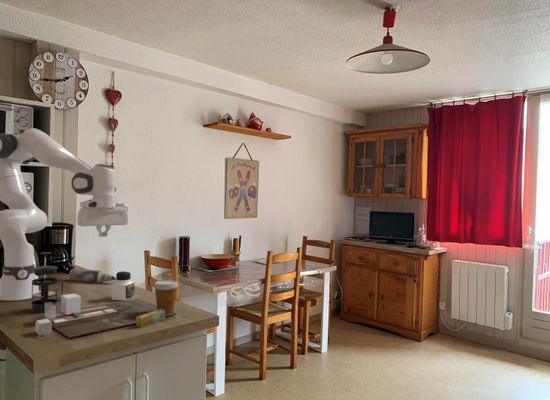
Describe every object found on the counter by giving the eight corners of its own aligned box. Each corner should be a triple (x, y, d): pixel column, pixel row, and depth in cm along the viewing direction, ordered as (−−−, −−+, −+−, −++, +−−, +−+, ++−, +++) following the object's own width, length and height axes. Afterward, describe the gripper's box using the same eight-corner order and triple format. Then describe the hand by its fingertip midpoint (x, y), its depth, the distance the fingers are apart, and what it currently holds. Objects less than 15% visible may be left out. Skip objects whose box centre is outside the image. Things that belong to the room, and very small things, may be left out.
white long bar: (44, 316, 152) (44, 302, 152) (102, 306, 166) (102, 294, 166) (49, 320, 147) (50, 306, 147) (108, 309, 162) (108, 297, 162)
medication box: (161, 319, 158) (161, 308, 158) (166, 320, 157) (166, 309, 157) (135, 327, 148) (135, 316, 148) (140, 328, 147) (140, 317, 147)
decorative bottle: (67, 281, 216) (67, 269, 216) (77, 279, 223) (78, 267, 223) (110, 285, 210) (110, 272, 210) (119, 283, 217) (119, 270, 217)
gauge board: (42, 319, 153) (43, 314, 153) (104, 308, 169) (104, 303, 169) (54, 327, 144) (54, 322, 144) (118, 315, 160) (118, 310, 160)
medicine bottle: (125, 301, 181) (126, 273, 181) (111, 299, 183) (111, 272, 183) (134, 297, 188) (135, 271, 188) (120, 296, 190) (120, 270, 190)
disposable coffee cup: (164, 316, 161) (165, 285, 160) (148, 312, 166) (148, 282, 165) (182, 311, 169) (183, 281, 168) (165, 307, 174) (166, 278, 174)
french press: (29, 314, 158) (30, 254, 158) (27, 308, 166) (29, 251, 165) (63, 310, 164) (64, 253, 164) (60, 305, 172) (61, 250, 172)
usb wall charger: (48, 330, 142) (48, 318, 142) (53, 335, 136) (53, 323, 136) (35, 332, 139) (35, 320, 139) (39, 338, 134) (40, 325, 134)
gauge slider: (60, 311, 155) (61, 295, 155) (74, 309, 159) (75, 293, 159) (70, 318, 148) (70, 301, 148) (84, 315, 152) (85, 298, 152)
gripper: (124, 203, 182) (123, 234, 182) (76, 202, 167) (75, 236, 168) (131, 203, 177) (130, 235, 178) (81, 203, 163) (81, 238, 163)
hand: (103, 236), depth 172 cm, fingers closed
